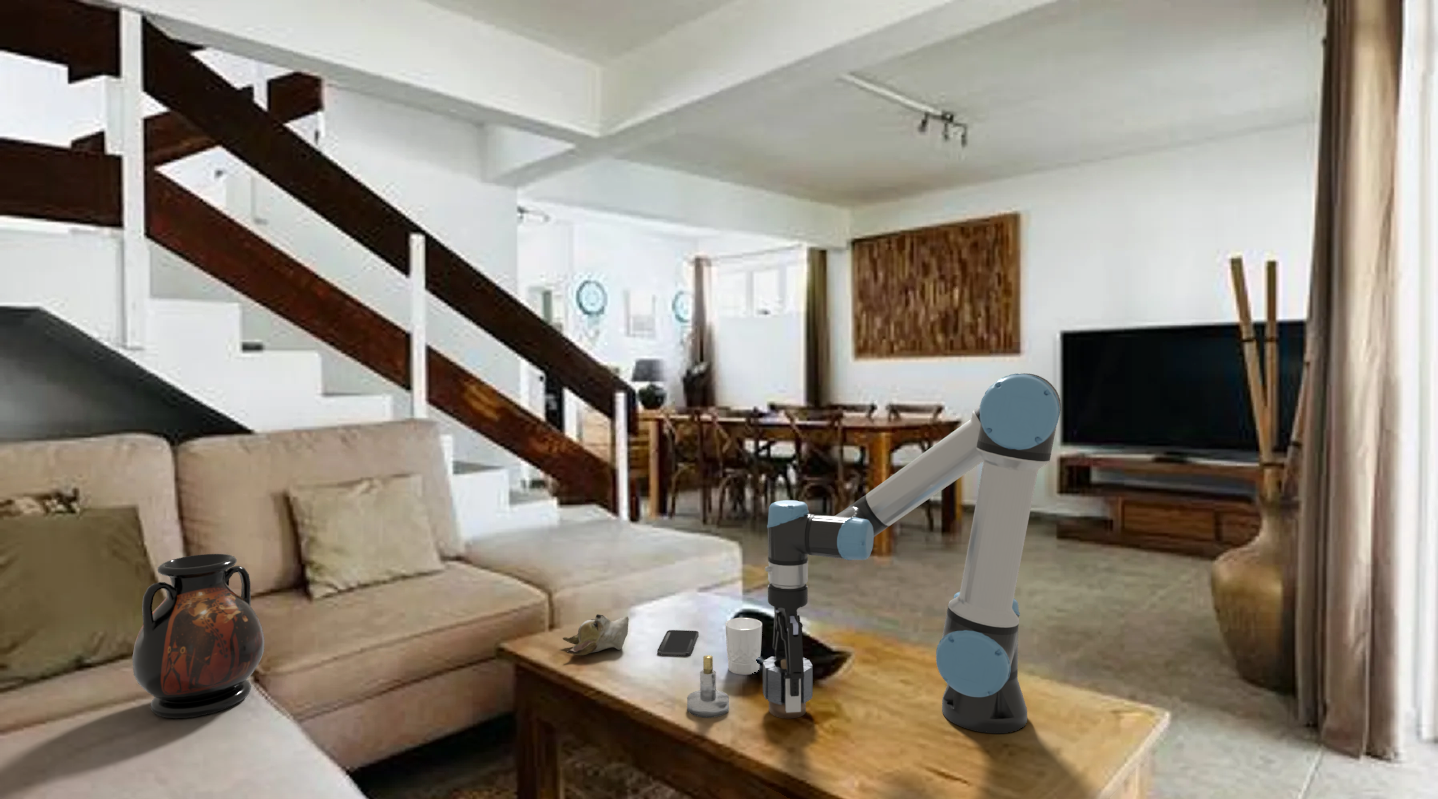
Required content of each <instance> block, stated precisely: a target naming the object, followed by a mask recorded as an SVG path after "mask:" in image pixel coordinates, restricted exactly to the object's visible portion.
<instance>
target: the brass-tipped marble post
mask: <svg viewBox="0 0 1438 799" xmlns="http://www.w3.org/2000/svg"><path fill="white" fill-rule="evenodd" d="M713 657H714V656H712V655H710V654H709V655H708V654H707V655H703V657H702V658H703V659H702V660H703V662H702V663H703V665H702V667H703V669H702V670H700V672H699V675H700V676H699V677H700V678H699V681H700V682H699V685H700V686H699V687H700V688H699V690H695V691H692V692H691V693H689V694H688V695H687V697H686V705H687V706H686V709H687V712H688V713H689V714H691V715H693V716H695V717H698V718H704V719H705V718H707V719H709V718H710V719H711V718H718V717H720V716H721V717H722V716H724V715H726V714H727V713H728V712H729V710H730V697H729V695H728V694H727V693H726V692H724V691H721V690H718V689H717V671H716V670H714V668H713V667H714V658H713Z"/></svg>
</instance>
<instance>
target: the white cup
mask: <svg viewBox="0 0 1438 799" xmlns="http://www.w3.org/2000/svg"><path fill="white" fill-rule="evenodd" d="M762 632H763V622H762V621H760V620H758V619H756V618H752V617H735V618H731V619H729V620H727V621H726V622H725V639H726V640H725V641H726V656H727V663H728V664H727V666H728V670H729V672H730V673H732V674H735V675H741V676H742V675H743V676H744V675H745V676H747V675H752V673H753V674H755V673H754V672H756V673H758V672H759V671H760V664H758V663H757V661H756V659H757V658H758V657H760V658H761V651H762V636H763V635H762V634H763V633H762ZM758 670H759V671H758Z"/></svg>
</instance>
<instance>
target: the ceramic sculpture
mask: <svg viewBox="0 0 1438 799" xmlns="http://www.w3.org/2000/svg"><path fill="white" fill-rule="evenodd" d="M629 620H630V618H629V616H624V617H621V618H617V619H616V620H610V618H608V616H605V615H604V614H599V613H598V614H596V615H595V618H592V619H586V620H585V621H584V622H582V624H581V625H579V628H578V631H577V633H576V634H574V635H572V636H571V637H568V636H567V637H566V636H564V637H562V640H563V641H564V642H568V644H572V645H574V646H573V647H572V648H570V649H569V650H567V651H566V652H567V653H568V654H570V655H576V656H585V655H588V654H591V653H597V652H601V651H603V650H606V649H610V648H615V649H616V650H617V651H618V650H619V651H620V650H621V649H622V648H623V646H624V643H625V641H626V638H627V636H628V632H629V622H630V621H629Z"/></svg>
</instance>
